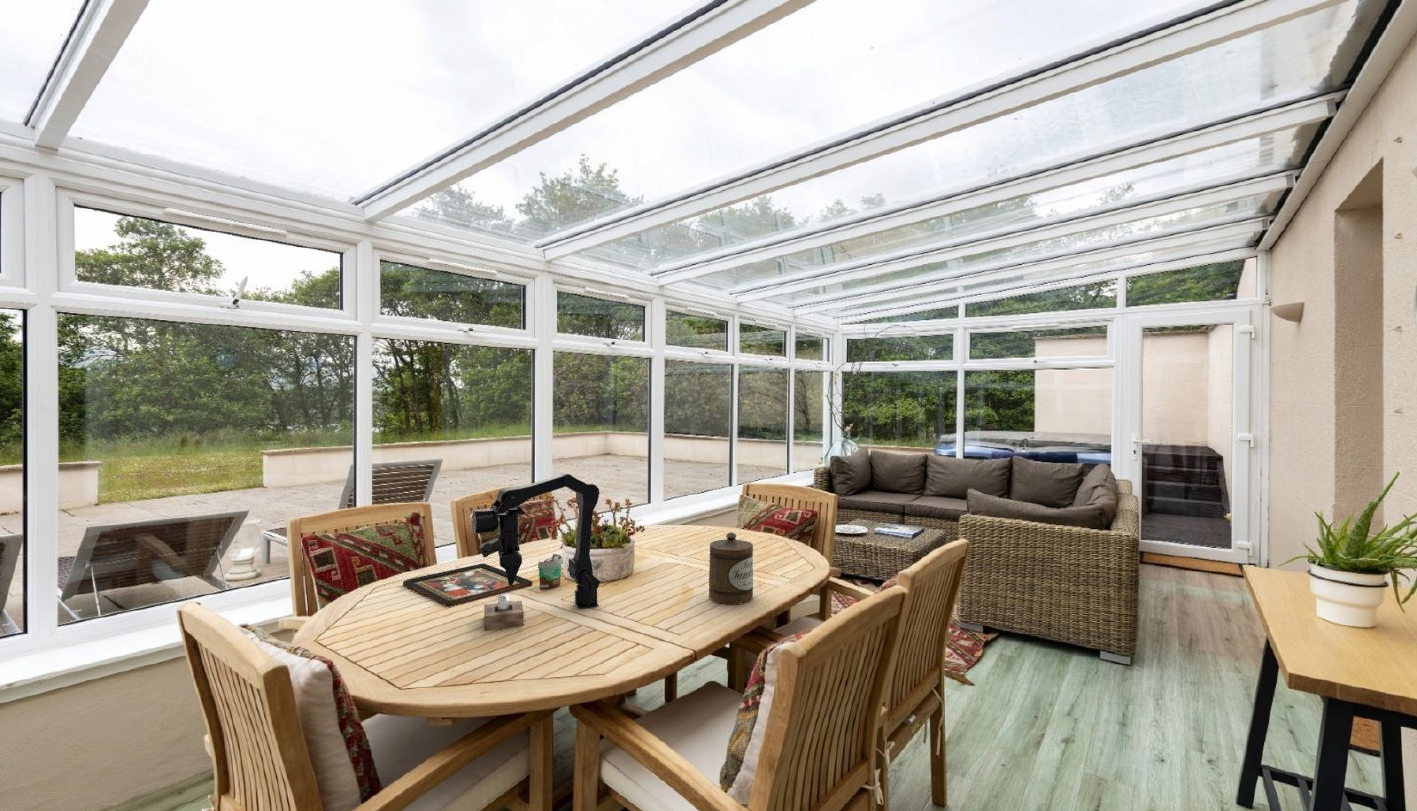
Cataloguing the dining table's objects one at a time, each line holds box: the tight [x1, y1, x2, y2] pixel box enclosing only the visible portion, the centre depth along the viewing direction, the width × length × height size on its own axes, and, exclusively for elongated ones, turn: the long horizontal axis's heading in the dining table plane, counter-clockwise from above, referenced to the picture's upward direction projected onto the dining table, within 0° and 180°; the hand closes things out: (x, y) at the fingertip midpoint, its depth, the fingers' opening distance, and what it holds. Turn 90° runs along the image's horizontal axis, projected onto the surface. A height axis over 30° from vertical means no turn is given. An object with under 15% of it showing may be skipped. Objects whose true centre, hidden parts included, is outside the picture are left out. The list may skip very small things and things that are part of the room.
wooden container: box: [708, 532, 754, 605], centre depth 211 cm, size 15×15×22 cm
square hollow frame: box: [483, 600, 525, 631], centre depth 188 cm, size 11×11×4 cm
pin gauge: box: [497, 593, 510, 612], centre depth 188 cm, size 3×3×8 cm
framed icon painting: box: [402, 562, 533, 608], centre depth 224 cm, size 38×35×3 cm
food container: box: [537, 553, 564, 591], centre depth 224 cm, size 12×6×10 cm, turn 168°
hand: (509, 580), depth 191 cm, fingers open, 9 cm apart
